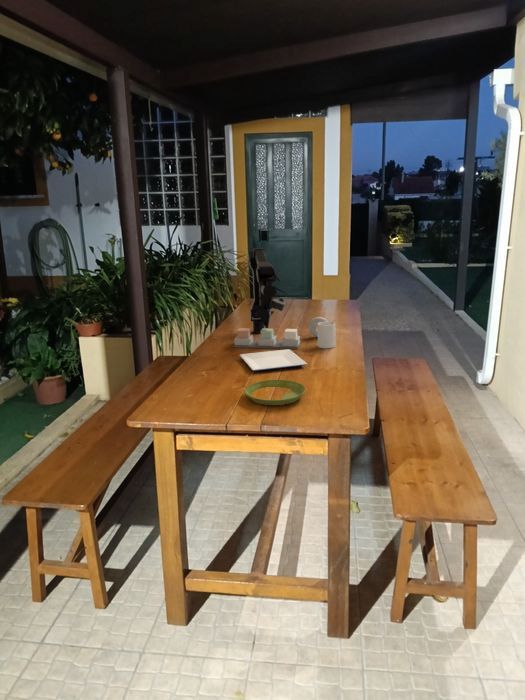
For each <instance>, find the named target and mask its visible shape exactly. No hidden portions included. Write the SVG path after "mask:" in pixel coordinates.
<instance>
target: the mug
mask: <svg viewBox="0 0 525 700" xmlns="http://www.w3.org/2000/svg"><path fill="white" fill-rule="evenodd" d="M317 330H318V337H317V347H318V348H321V349H332V348H335V347H336V322H334V321H328V320H327V321H326V322H319V323H318V324H317Z"/></svg>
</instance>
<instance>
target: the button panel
mask: <svg viewBox="0 0 525 700" xmlns="http://www.w3.org/2000/svg"><path fill="white" fill-rule="evenodd" d="M300 345H301V336H300V335H297V339H296V340H294V339H285V335H284V336H283V338H282V339H281V340H277V335H274V337H273V339H261V335H260V336H259V337H258V339H256V340H254V335H253V334H250V337H249V338H248V339H246V338H237V336H235V338H234V345H233V348H234V347H236V348H237V347H238V349H239V348H240V349H241V348H242V349H243V348H244V349H271V348H276V349H277V348H280V349H279V350H286V349H290V350H298V349H299V347H300ZM282 348H283V349H282ZM277 350H278V349H277Z"/></svg>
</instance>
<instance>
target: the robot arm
mask: <svg viewBox="0 0 525 700" xmlns="http://www.w3.org/2000/svg"><path fill="white" fill-rule="evenodd" d="M266 252H267V251H266V250H265V248H263V247H260V248H259V247H258V248H257V247H255V248H253V249H252V250H251V251H248V253H247V255H246V256H247V263H248V265H249V267H250V269H251V270H252V285H253V289H252V290H253V301H252V302H251V305H250V309H249V314H248V315H249V321H250V322H252V330H251V331H250V334H261V330H262V329H263V328H267V329H269V326H270V321H271V316H272V315H273V314H274V313H275V311H274V310H278V311H280V312H283V310H284V309H285V306H286V302H285V299H284V298H282V297H280V298H279V299H276V298H275V296H276V294H277V288H276V287H275V286H274V284H273V283H276V280H277V273H276V269H275V267H273V265H272V263H270V262H269V261H268V260H267V253H266ZM273 309H274V310H273Z"/></svg>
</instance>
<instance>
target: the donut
mask: <svg viewBox="0 0 525 700" xmlns="http://www.w3.org/2000/svg"><path fill="white" fill-rule="evenodd" d="M326 321H328V320H327V319H326V318H325V317H322V316H317V317H316V316H315V317H314V318H312V319H311V320H310V321H309V323H308V332H309V333H310V334H311V335H312V336H313V337H315V338H318V328H317V327H316V326H318V323H319V322H326Z"/></svg>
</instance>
